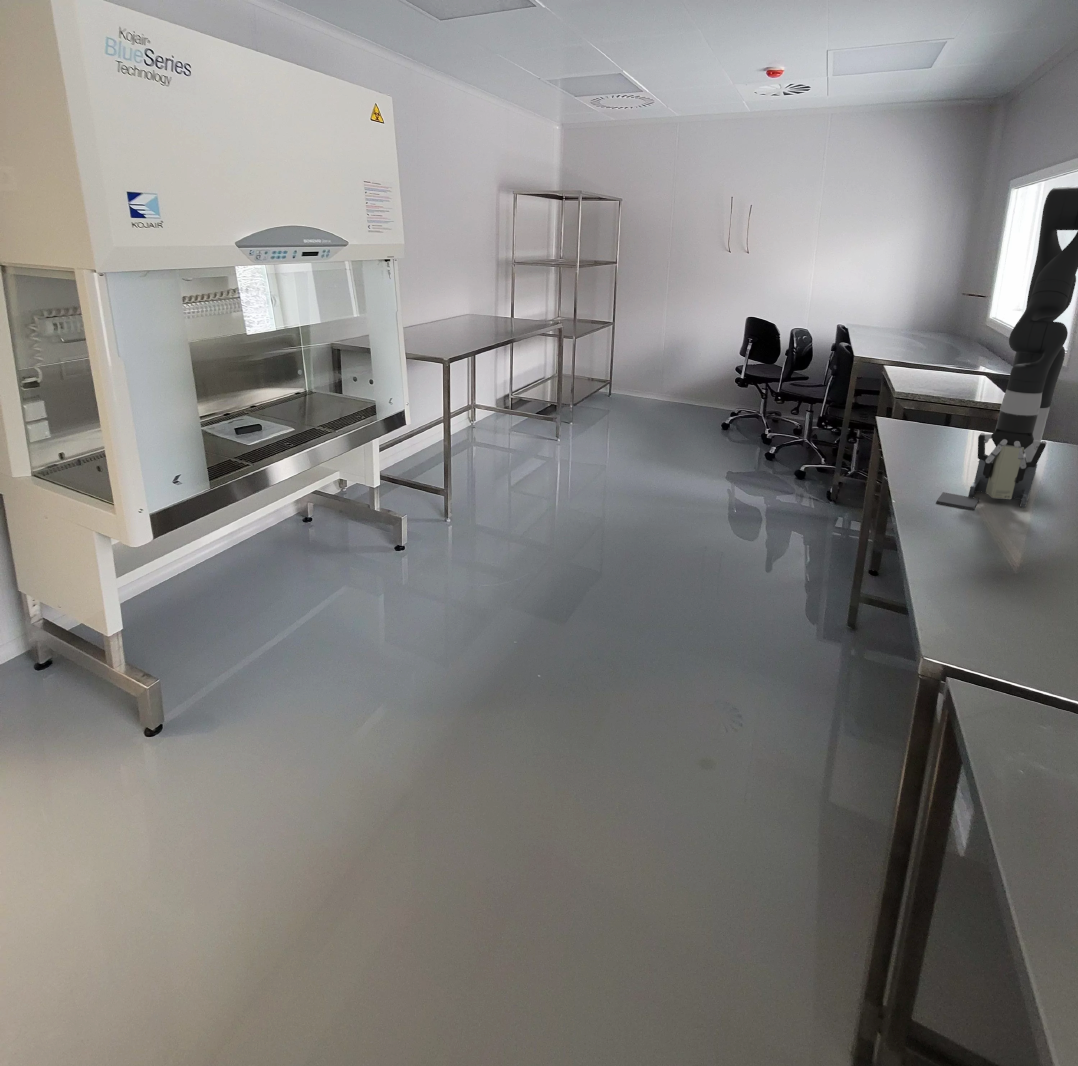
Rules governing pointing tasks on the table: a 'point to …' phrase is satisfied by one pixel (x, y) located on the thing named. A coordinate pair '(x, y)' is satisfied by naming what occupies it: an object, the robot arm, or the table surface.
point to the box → (1004, 473)
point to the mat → (958, 501)
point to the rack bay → (1020, 488)
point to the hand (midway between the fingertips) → (1001, 479)
